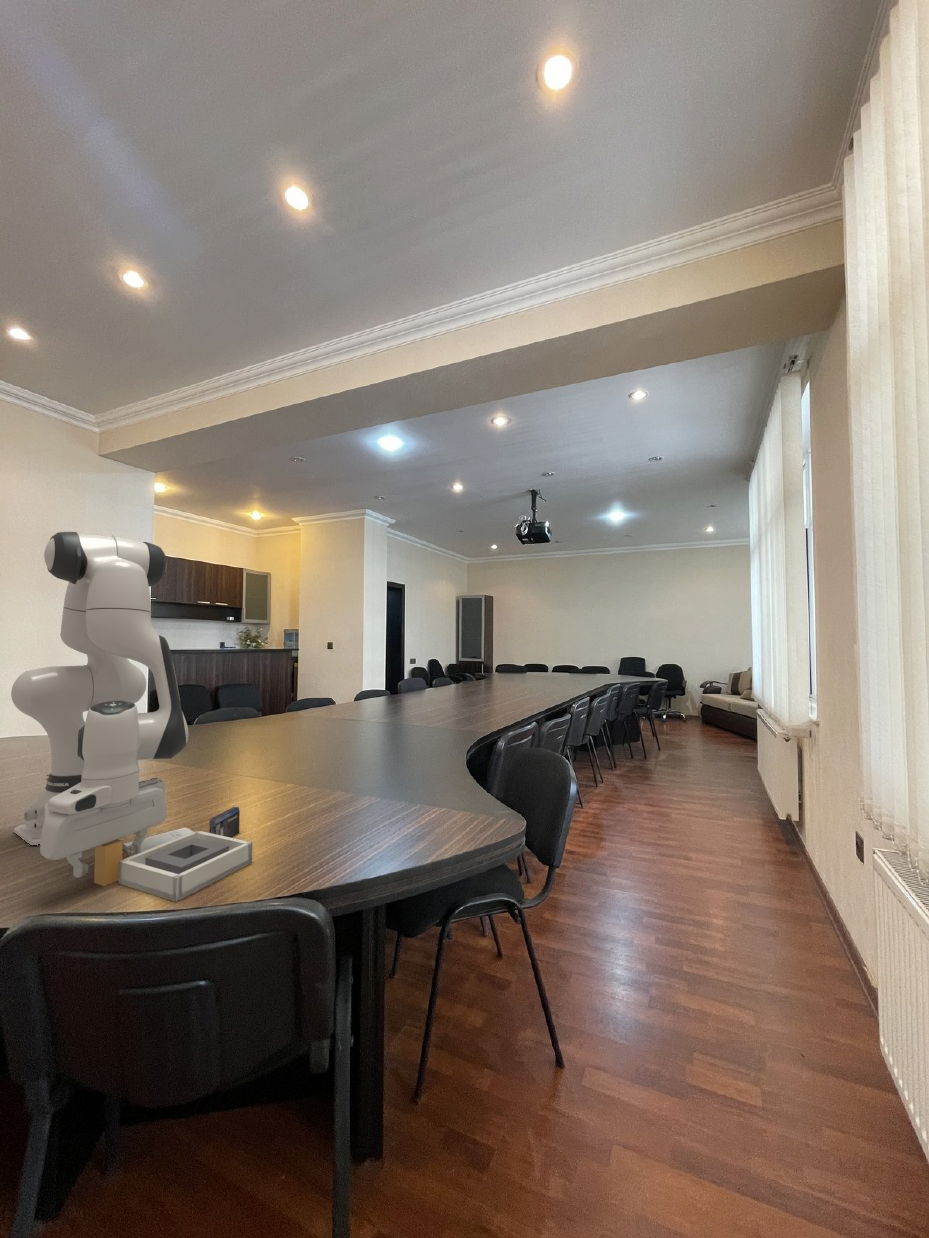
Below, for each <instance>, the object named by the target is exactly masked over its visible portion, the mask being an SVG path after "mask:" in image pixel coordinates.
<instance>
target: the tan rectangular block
mask: <svg viewBox="0 0 929 1238" xmlns="http://www.w3.org/2000/svg"><path fill="white" fill-rule="evenodd" d="M123 844H124V843H123V840H121V839H116V840H113V841H110V842H108V843H105V844H102V845H99V846H96V847H94V850H95V851H94V884H97V885H100V886H103V887H106V886H107V885H110V884H112V883H115V882H118V867H119V861H121V860H123Z"/></svg>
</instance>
